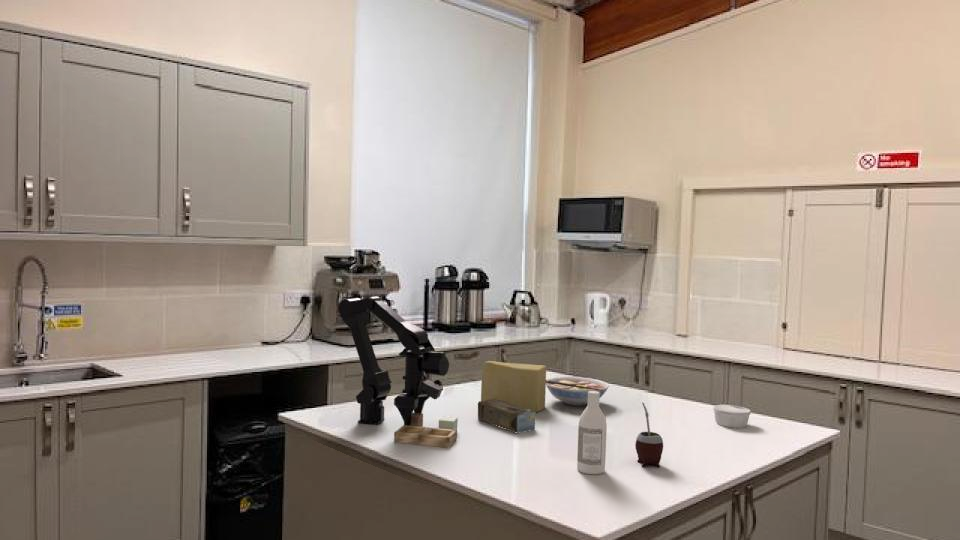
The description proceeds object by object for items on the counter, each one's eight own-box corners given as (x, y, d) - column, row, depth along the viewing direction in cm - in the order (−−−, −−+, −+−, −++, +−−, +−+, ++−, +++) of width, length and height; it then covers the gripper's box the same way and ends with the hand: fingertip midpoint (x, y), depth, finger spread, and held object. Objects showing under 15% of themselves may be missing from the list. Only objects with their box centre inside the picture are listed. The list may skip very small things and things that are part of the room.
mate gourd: (654, 470, 176) (657, 412, 175) (626, 463, 181) (629, 406, 180) (667, 464, 181) (670, 407, 181) (640, 457, 187) (642, 402, 186)
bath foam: (586, 464, 179) (589, 387, 179) (609, 470, 175) (612, 392, 174) (571, 470, 174) (574, 391, 173) (595, 477, 170) (598, 396, 169)
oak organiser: (394, 442, 194) (394, 432, 193) (403, 434, 201) (403, 425, 201) (449, 447, 190) (449, 437, 190) (456, 439, 198) (456, 430, 198)
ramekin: (755, 425, 224) (756, 409, 224) (741, 431, 216) (742, 414, 216) (721, 418, 232) (722, 402, 232) (707, 424, 224) (707, 407, 223)
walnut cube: (403, 430, 205) (404, 415, 205) (408, 427, 210) (408, 412, 210) (418, 432, 204) (418, 417, 204) (422, 428, 209) (423, 413, 209)
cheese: (476, 406, 238) (477, 362, 238) (486, 400, 247) (487, 358, 247) (538, 413, 231) (539, 368, 230) (545, 407, 240) (547, 364, 239)
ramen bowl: (621, 403, 249) (622, 380, 249) (595, 415, 230) (596, 391, 229) (558, 392, 262) (559, 371, 262) (529, 404, 243) (530, 381, 243)
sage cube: (438, 435, 202) (438, 420, 202) (442, 431, 206) (442, 416, 206) (453, 436, 201) (453, 421, 201) (457, 432, 205) (457, 417, 205)
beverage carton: (516, 434, 206) (517, 412, 205) (476, 420, 220) (476, 399, 220) (535, 430, 211) (536, 409, 210) (495, 416, 225) (495, 396, 225)
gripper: (431, 379, 195) (429, 434, 196) (449, 368, 214) (447, 418, 214) (394, 376, 198) (392, 430, 199) (414, 365, 216) (413, 415, 217)
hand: (413, 423), depth 207 cm, fingers open, 9 cm apart
